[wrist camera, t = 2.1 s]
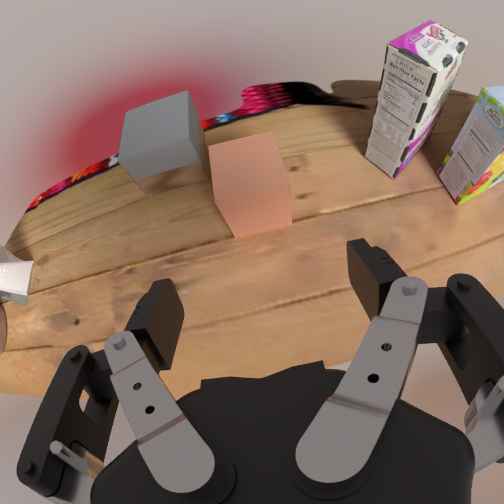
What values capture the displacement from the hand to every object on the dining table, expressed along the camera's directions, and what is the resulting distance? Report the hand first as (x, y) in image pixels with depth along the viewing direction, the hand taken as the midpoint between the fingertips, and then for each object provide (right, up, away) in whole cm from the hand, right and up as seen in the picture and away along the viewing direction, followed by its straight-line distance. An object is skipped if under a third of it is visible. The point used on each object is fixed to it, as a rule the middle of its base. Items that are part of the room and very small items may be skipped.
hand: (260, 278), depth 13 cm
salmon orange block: (0, +6, +18) cm, 19 cm away
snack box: (+33, +13, +15) cm, 38 cm away
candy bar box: (+18, +14, +18) cm, 29 cm away
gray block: (-10, +14, +18) cm, 25 cm away
